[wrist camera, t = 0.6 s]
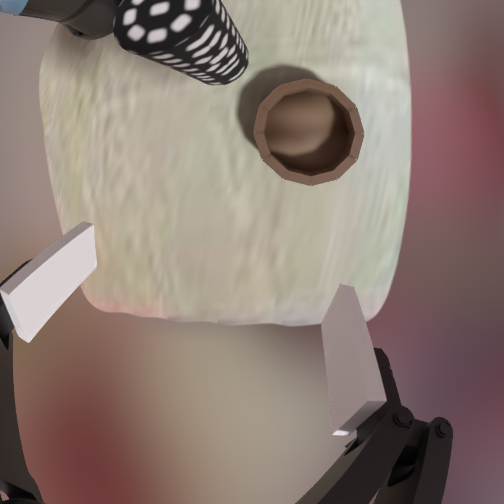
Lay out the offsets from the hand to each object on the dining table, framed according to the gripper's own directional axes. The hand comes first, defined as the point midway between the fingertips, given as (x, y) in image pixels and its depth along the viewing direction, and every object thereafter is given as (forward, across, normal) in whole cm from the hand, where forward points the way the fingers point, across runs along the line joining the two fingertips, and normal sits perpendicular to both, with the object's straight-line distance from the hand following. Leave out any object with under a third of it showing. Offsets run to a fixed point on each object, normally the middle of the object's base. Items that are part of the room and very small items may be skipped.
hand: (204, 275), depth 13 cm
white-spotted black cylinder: (+28, -8, +15) cm, 33 cm away
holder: (+27, +6, +7) cm, 29 cm away
